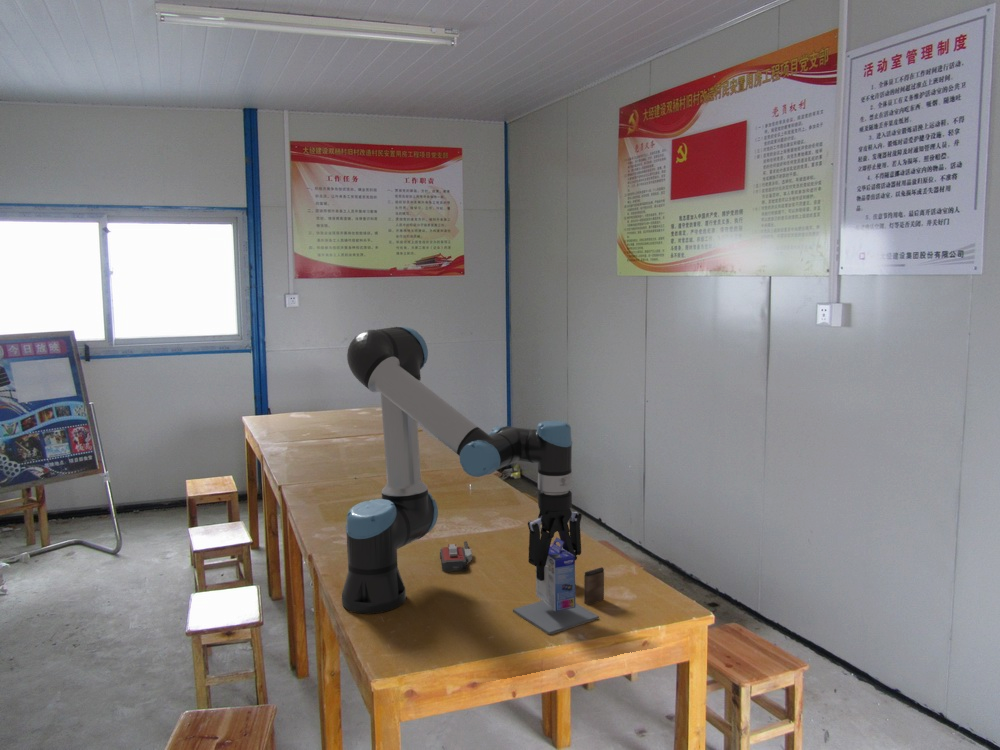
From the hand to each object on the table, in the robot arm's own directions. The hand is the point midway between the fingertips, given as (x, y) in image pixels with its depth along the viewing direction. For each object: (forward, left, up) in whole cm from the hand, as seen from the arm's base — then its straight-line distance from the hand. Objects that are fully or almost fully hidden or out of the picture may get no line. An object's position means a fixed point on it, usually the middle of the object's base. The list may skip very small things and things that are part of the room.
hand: (555, 589), depth 174 cm
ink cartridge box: (0, 0, -3) cm, 3 cm away
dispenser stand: (+12, +7, -6) cm, 15 cm away
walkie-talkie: (-1, +44, -7) cm, 44 cm away
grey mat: (0, 0, -6) cm, 6 cm away
